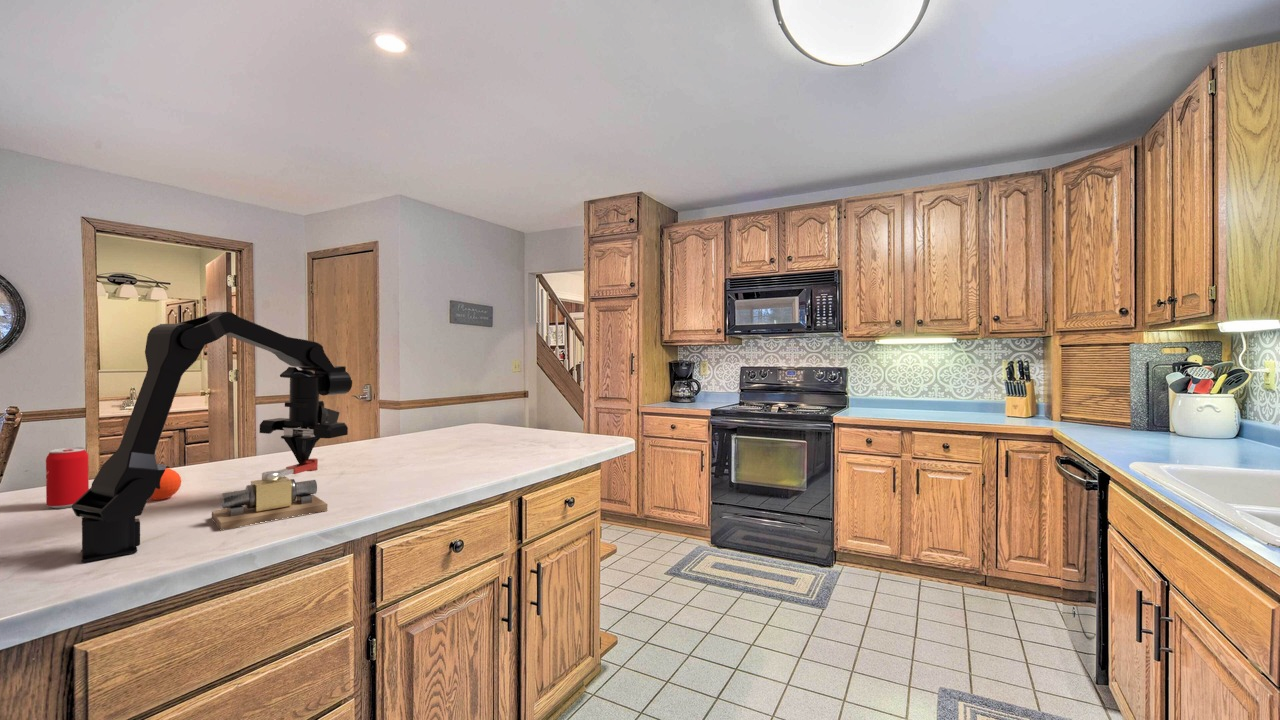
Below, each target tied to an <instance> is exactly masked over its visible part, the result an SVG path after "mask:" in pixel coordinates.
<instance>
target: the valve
mask: <svg viewBox="0 0 1280 720" xmlns="http://www.w3.org/2000/svg"><path fill="white" fill-rule="evenodd" d="M317 491H318V483H317V480H316V479H311V480H305V481H304V480H303V481H297V482H296V481H295V479H294V478H288V477H287V476H283V477H281V479H279V480H275V481H262V479H257V480H251V481H250V484H248V485H246V486H245V489H242V490H236V491H228V492H222V493H221V496H220V502H221V504H220V505H221V509H227V513H228V514H229V515H230V516H231V517H232V516H237V515H243V506H247V508H248V509H249V508H253V509H254V510H255V511H256V512H257V511H263V510H269V509H275V508H281V507H287V506H291V502H292V501H295V500H296V497H297V502H299V503H300V504H301V505H302V504H307V503H312V495H316V494H317Z"/></svg>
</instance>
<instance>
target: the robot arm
mask: <svg viewBox="0 0 1280 720" xmlns="http://www.w3.org/2000/svg"><path fill="white" fill-rule="evenodd" d="M223 336H228V337H230V338H233V339H235V340H237V341H240V342H244V343H247V344H249V345H251V346H254V347H257V348H259V349H262V350H264V351H268V352H270V353H271V354H274V356H276V357H277V358H278V359H279V360H280V361H282V362H284V363H285V364H287V365H289V366H288V367H287V368H286V370H284V371H282V372H281V373H280V374H279V377H280V378H284V379H285V378H286V379H289V396H288V397H289V399H288V400H289V401H285V402H284V407H285V408H288V410H289V413H288V418H284V417H279V418H277V417H276V418H272V419H271V418H269V419H264V420H262V421H261V422H260V424H259V434H265V435H266V434H268V435H269V434H273V432H274V431H283V435H281V436H280V439H282V440H284V442H285V443H286V445H287V446H288V447H289V448H290V450H291V452H292V453H293V455H294V457H295V459H296V462H297V464H300V463H304V462H305V460H306V459H310V457H311V454H312V452H313V449H314V447H315V445H316V444H317V442H318V441H319V440H320V439H334V438H339V437H342V436H347V435H348V433H349V431H348V429H349V428H348V425H347V424H346V423H345V422H339V421H338V420H339V416H340V412H339V411H337V410H333V409H330V408H326V407H325V403H324V401H323V400H320V395H321V396H323V397H325V396H335V395H345V394H348V393H349V392H350V391H351V389H352V387H353V380H352V376H351V375H350V374H349V372H347V369H346V366H345V365H341V366H339V365H338V366H337V365H335V366H334V365H333V363H332V362H331V360H330V358H329V357H328V356H327V354H326V353H325V350H324V346H323V345H322V344H321V343H319V342H316V341H312V340H307V339H302V338H298V337H297V338H296V337H289V336H286V335H284V334H282V333H279V332H277V331H274V330H271V329H270V328H267V327H265V326H262V325H260V324H257V323H256V322H253V321H251V320H248V319H245V318H244V317H243V318H242V317H240V316H238V315H237V314H236V313H233V312H231V311H213V312H211V313H209V314H206V315H204V316H200V317H196V318H192V319H188V320H184V321H180V322H178V323H160V324H158V325H155V326H153V327H152V328H151V329H150V330H149V332H148V333H147V336H146V343H145V350H144V355H145V359H146V364H147V366H146V367H147V370H146V373H145V376H144V379H143V382H142V385H141V387H140V390H139V392H138V395H137V398H136V401H135V404H134V405H133V406H134V407H133V409H132V412H131V415H130V416H129V420H128V422H127V426H126V428H125V431H124V433H123V436H122V439H121V442H120V444H119V447H118V448H117V450H116V451H114V453H113V454H112V455H111V456H110V457H109V458H108V459H107V460H106V461H105V462H103V464H102V465H101V467H100V469H99V471H98V472H97V474H96V476H95V478H94V479H93V481H92V483H91V486H90V487H89V490H88V491H87V492H86V493H85V494H84V495H82V496H81V497H80V498H79V499H78V500H77V501H76V502H75V503H74V504H73V505H72V506H71V507H70V508H71V509H72V512H73V513H74V515H75V516H76V517H77V518H80V517H82V518H81V549H80V562H81V563H87V562H92V561H93V562H94V561H98V560H103V559H108V558H113V557H114V558H115V557H119V556H124V555H125V556H126V555H130V554H134V553H137V552H138V547H139V546H141V521H140V519H139V518H138V516H141V515H142V513H143V511H144V509H145V506H146V503H147V501H148V500H150V498H151V496H152V495H153V493H154V491H155V489H160V480H161V477H162V475H163V473H164V472H165V469H166V468H167V465H166V464H160V463H157V462H158V461H157V458H156V451H157V448H158V445H159V442H160V439H161V436H162V434H163V431H164V428H165V425H166V422H167V419H168V416H169V414H170V411H171V409H172V405H173V402H174V400H175V396H176V394H177V391H178V388H179V386H180V383H181V382H180V381H181V379H182V376H183V375H184V373H185V372H186V371H188V369H189V368H190V367H192V366H193V365H194V364H195V363H196V361H197V360H198V358H199V356H201V355H200V354H201V353H202V351H203V349H204V348H205V346H206V345H208V344H211V343H213V342H215V341H218V340H219V339H221V338H222V337H223ZM298 368H299V369H298Z"/></svg>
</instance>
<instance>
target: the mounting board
mask: <svg viewBox="0 0 1280 720" xmlns="http://www.w3.org/2000/svg"><path fill="white" fill-rule="evenodd" d="M311 495H312V503H307V504H302V505H301V504H300V503H299V502H297V497H296V500H295V501H292V502H291V506H287V507H281V508H275V509H269V510H263V511H257V512H256V511H255V510H254V509H253V508H249V509H248V508H247V506H246V505H243V515H237V516H232V517H231V516H230V515H229V514H228V513H227V508H224V509H223V508H220V509H217V510H211V520H212V519H213V520H214V521H215V522H214V521H213V520H212V521H213V522H214V524H215V525H216V524H217V525H218V526H217V525H216V526H217V528H218V529H219V528H220V529H221V530H222V531H224V530H223V529H228V530H231V529H230V528H233V529H236V528H235V527H238V528H241V527H240V526H244V527H246V526H245V525H249V526H251V525H250V524H255V523H260V522H265V521H271V520H275V519H282V518H287V517H292V516H298V515H302V514H309V513H314V514H316V513H315V512H319V513H323V511H325V512H327V511H328V503H327V502H325V501H323V499H320V498H319V497H317V496H316V495H315V494H311ZM321 511H322V512H321ZM309 515H310V514H309ZM298 517H299V516H298ZM292 518H293V517H292ZM287 519H288V518H287ZM282 520H283V519H282ZM271 522H272V521H271ZM265 523H266V522H265ZM260 524H261V523H260ZM255 525H256V524H255ZM220 529H219V530H220ZM221 530H220V531H221Z"/></svg>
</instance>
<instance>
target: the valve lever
mask: <svg viewBox="0 0 1280 720" xmlns="http://www.w3.org/2000/svg"><path fill="white" fill-rule="evenodd" d="M318 460H319V459H318V458H315V457H314V458H309V459H306V460H305V462H304V463H300V464H299V463H295V464H293V465H289V466H286V467H285V468H283V469H279V470H270V471H264V472H262V473H261V480H262V481H275V480H279V479H281V477H287V476H289V475H296V474H301V473H305V472H315V471H318V469H319V468H318V465H319V464H318V463H319V462H318Z"/></svg>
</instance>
